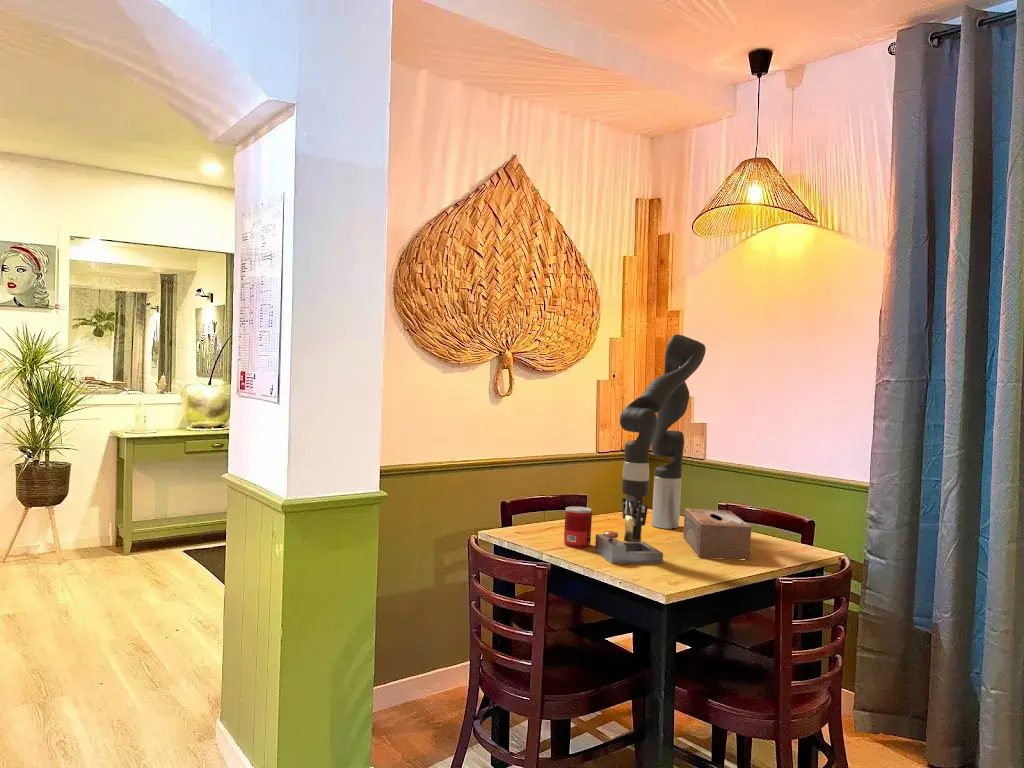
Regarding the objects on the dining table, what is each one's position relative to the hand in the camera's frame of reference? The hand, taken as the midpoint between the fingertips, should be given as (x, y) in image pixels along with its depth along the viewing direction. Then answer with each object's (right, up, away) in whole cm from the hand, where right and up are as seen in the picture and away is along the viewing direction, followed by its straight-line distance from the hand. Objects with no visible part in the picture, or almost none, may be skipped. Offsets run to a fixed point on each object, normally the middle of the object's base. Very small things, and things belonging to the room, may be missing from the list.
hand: (632, 537), depth 218 cm
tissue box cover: (+27, -7, +16) cm, 32 cm away
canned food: (-15, -5, +12) cm, 20 cm away
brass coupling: (0, -1, 0) cm, 1 cm away
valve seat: (-1, -6, 0) cm, 6 cm away
